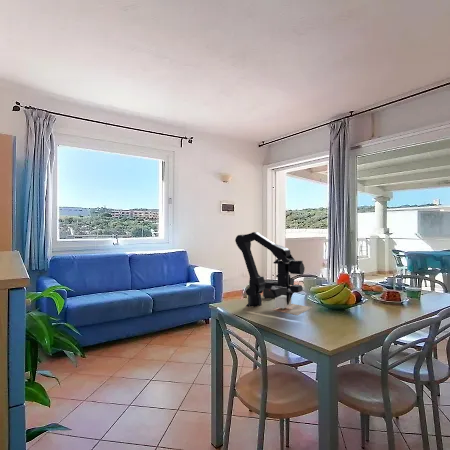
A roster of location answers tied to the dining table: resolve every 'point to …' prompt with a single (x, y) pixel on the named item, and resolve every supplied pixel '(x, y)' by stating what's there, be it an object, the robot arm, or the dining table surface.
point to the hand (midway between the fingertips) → (283, 303)
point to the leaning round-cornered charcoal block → (269, 294)
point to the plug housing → (282, 302)
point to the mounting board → (293, 309)
